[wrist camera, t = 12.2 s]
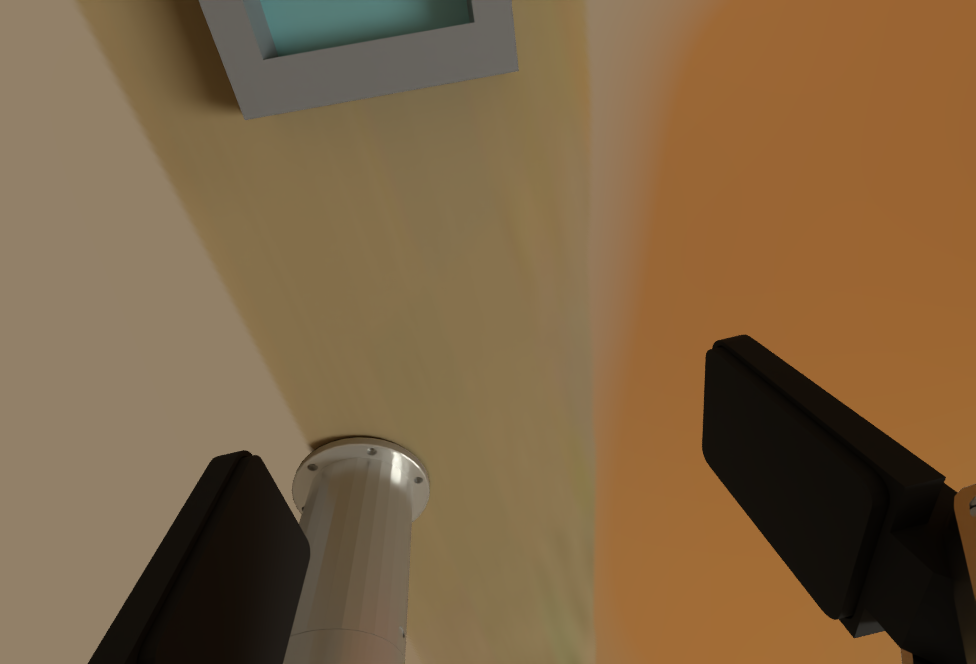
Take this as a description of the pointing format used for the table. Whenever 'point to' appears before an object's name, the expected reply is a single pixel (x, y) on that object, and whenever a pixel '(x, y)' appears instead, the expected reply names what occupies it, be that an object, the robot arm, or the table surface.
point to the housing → (354, 48)
